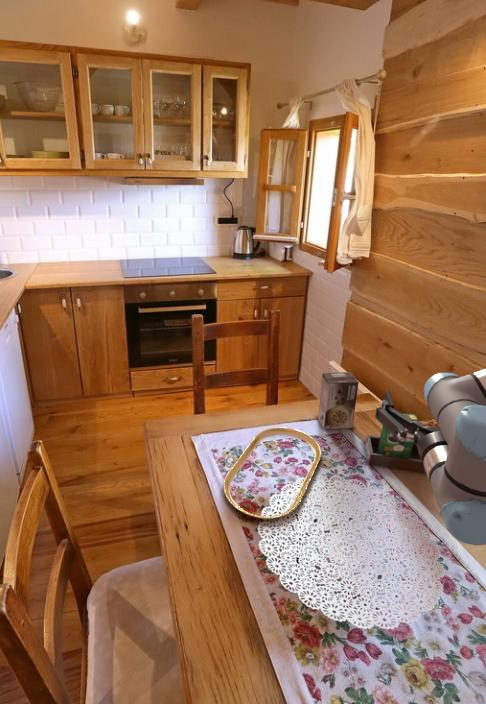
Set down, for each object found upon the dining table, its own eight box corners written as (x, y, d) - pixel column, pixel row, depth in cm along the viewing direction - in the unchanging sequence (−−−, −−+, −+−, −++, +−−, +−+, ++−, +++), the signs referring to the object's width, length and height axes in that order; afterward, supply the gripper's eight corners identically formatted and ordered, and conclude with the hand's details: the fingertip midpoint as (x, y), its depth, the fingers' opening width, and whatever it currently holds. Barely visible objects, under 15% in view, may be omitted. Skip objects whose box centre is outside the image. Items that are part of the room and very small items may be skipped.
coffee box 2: (406, 454, 110) (415, 413, 106) (410, 461, 108) (419, 419, 103) (376, 452, 111) (383, 411, 106) (379, 460, 108) (387, 418, 104)
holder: (424, 474, 104) (426, 462, 103) (368, 465, 107) (370, 454, 106) (416, 452, 112) (418, 441, 111) (364, 445, 115) (366, 434, 114)
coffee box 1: (345, 417, 128) (351, 371, 122) (352, 429, 122) (360, 382, 116) (316, 417, 127) (322, 372, 121) (322, 430, 121) (328, 382, 115)
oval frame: (328, 444, 115) (328, 439, 114) (286, 536, 86) (286, 530, 85) (266, 424, 123) (267, 420, 123) (209, 502, 94) (209, 497, 94)
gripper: (369, 466, 76) (358, 406, 96) (518, 488, 71) (475, 420, 91) (374, 433, 74) (362, 378, 93) (530, 453, 69) (483, 391, 88)
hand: (418, 399), depth 92 cm, fingers open, 13 cm apart
